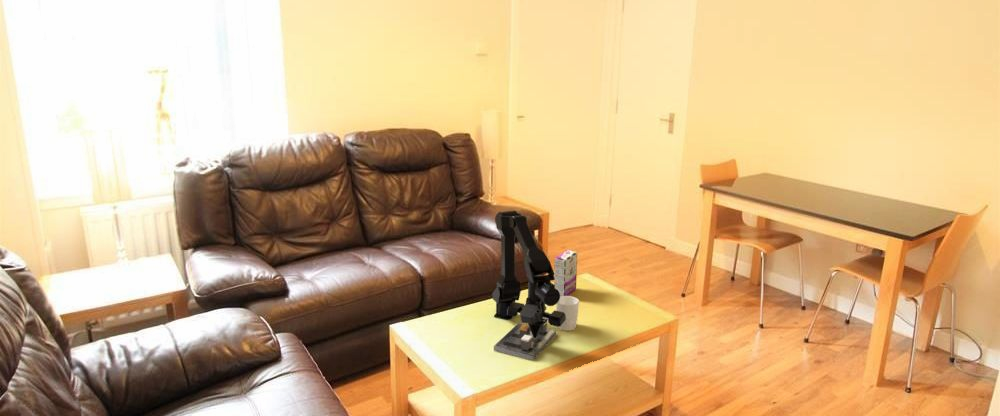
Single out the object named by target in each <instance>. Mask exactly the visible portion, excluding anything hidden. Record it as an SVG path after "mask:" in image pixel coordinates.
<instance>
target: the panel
mask: <svg viewBox="0 0 1000 416" xmlns="http://www.w3.org/2000/svg"><path fill="white" fill-rule="evenodd" d="M523 324H524V325H528V326H529V324H528V323H522V322H521V321H520V322H517V324H516V325H514V327H512V328H511V329H510V330H509V331H508V332H507V333H506V334H505V335H504V336H503V337H502V338H501V339H500V340H498V341H497V343H496V344H494V345H493V351H494V352H498V353H501V354H506V355H509V356H514V357H517V358H522V359H525V360H530V361H535V360H536V359H537V357H538V356H539V355H540V354H541V353H542V352H543V350H544V349H545V348H547V346H548V344H550V343H551V341H552V340H553V339H554V338H555V336H557V330H556V329H551V328H547V330H546V331H545V332H544V334H542V333H539V334H538V336H537V338H534V337H533V335H532V332H531V329H530V336H532V346H531V348H530V349H529V350H524V349H521V338H519V336H520V330H519V328H520V327H521V326H522V325H523Z"/></svg>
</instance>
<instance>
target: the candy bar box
mask: <svg viewBox="0 0 1000 416" xmlns="http://www.w3.org/2000/svg"><path fill="white" fill-rule="evenodd" d="M577 266H578V251H575V250H570V249H567V250H564V251H563V252H561V253H560V254H558V255H557V256H555V257H554V278H555V280H553V281H554V282H553V284H554V285H555V289H557V290H558V291H559V293H560V297H561V296H570V295H571V294H572V293H573V292H575V291H576V290H577V273H578V272H577V271H578V267H577Z"/></svg>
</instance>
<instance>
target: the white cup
mask: <svg viewBox="0 0 1000 416" xmlns="http://www.w3.org/2000/svg"><path fill="white" fill-rule="evenodd" d="M555 305H556V308H555V309H556V310H555V311H559V312H564V313H565V315H566V320H565V321H564V322H563V324H562V325H561V326H559V327H557V328H558V329H559V330H560V331H561V330H562V331H568V332H569V331H574V330H575V329H576V328H577V323H578V322H577V321H578V316H579V306H580V300H579V298H577V297H574V296H571V295H568V296H561V297H560V299H559V301H558V303H557V304H555Z"/></svg>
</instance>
